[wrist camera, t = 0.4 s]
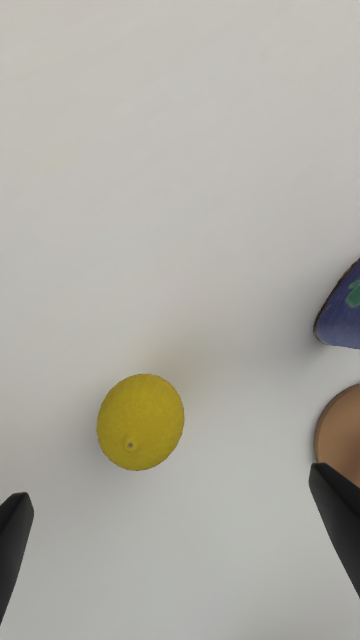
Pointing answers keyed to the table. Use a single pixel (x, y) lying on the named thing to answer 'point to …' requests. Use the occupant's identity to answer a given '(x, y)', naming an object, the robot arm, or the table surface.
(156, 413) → the lemon
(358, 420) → the wooden coaster
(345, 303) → the flask
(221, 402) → the table surface
